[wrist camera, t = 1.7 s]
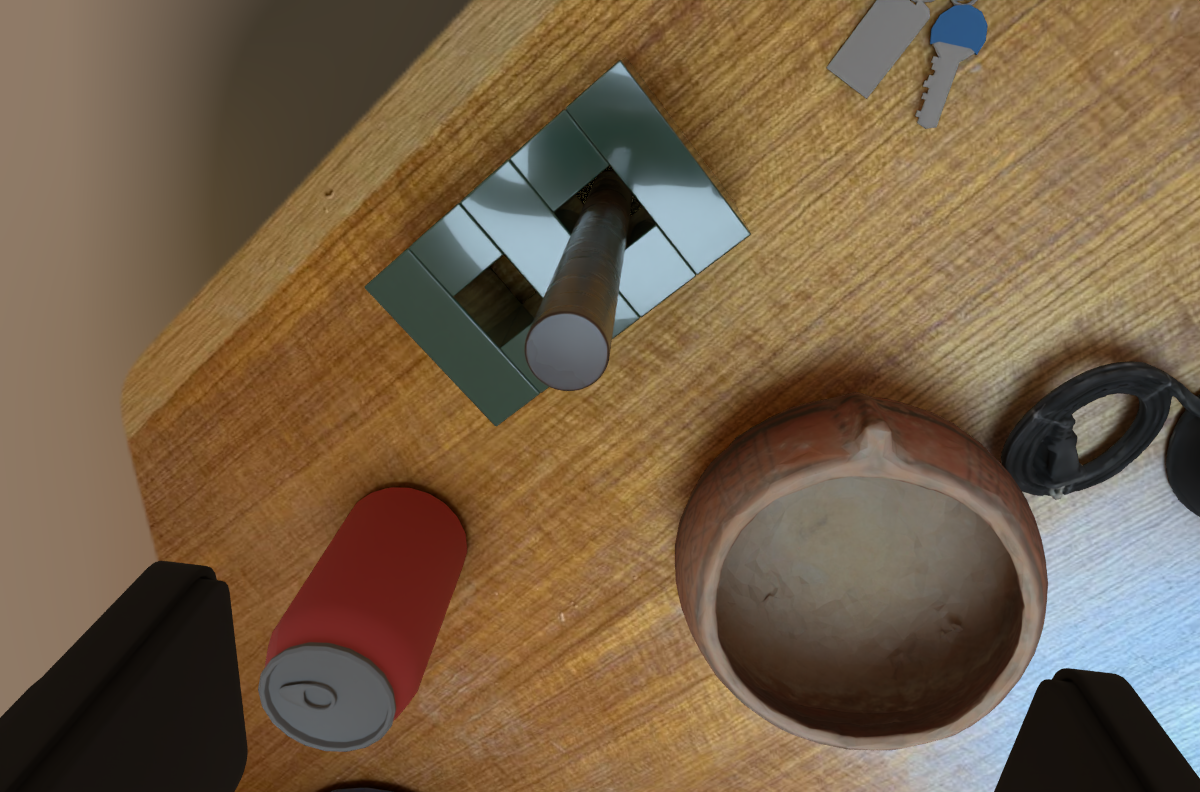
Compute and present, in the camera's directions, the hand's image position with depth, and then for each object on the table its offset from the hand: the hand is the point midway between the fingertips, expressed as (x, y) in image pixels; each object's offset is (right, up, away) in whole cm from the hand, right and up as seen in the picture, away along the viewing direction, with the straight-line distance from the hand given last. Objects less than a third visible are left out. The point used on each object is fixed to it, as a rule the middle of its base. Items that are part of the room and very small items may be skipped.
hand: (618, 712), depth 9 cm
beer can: (-10, -4, +34) cm, 36 cm away
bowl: (+11, -2, +32) cm, 34 cm away
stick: (0, +13, +26) cm, 29 cm away
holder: (-2, +11, +27) cm, 29 cm away
